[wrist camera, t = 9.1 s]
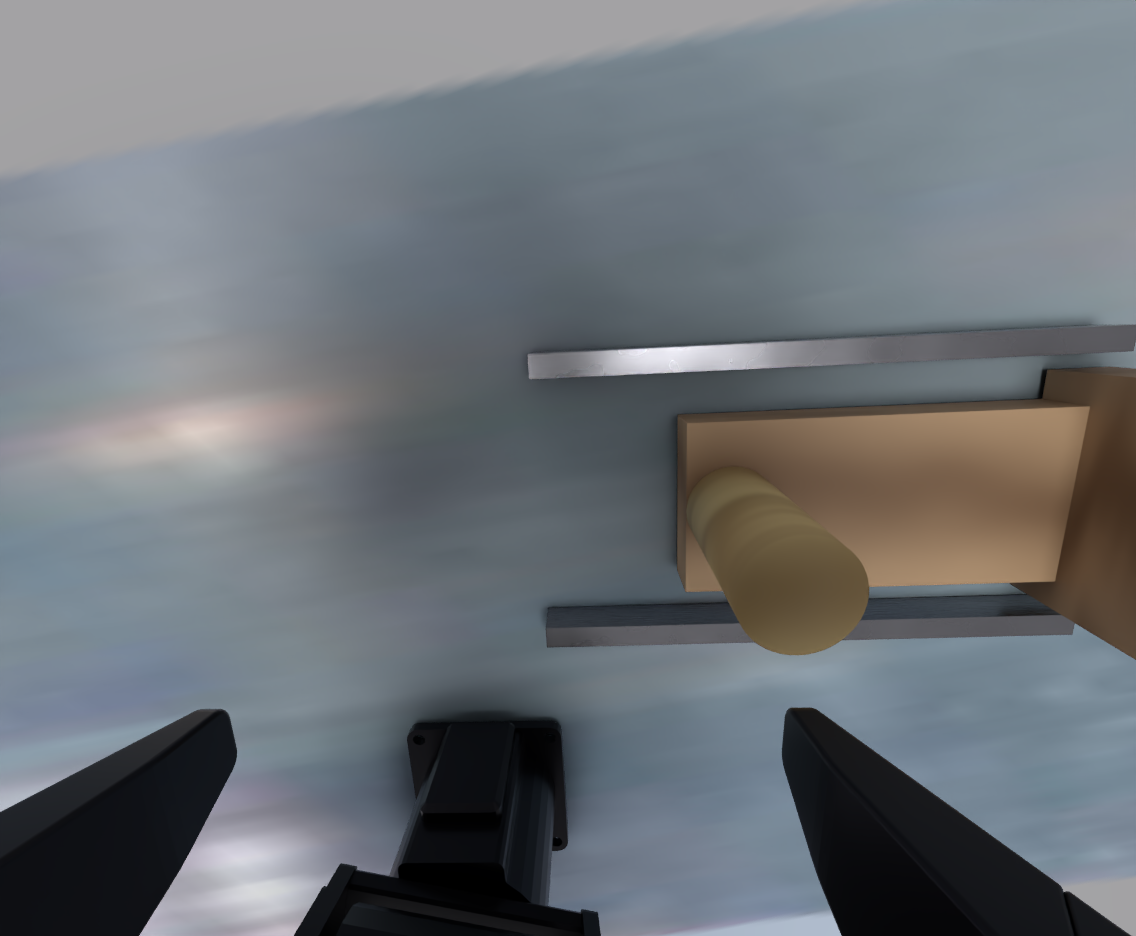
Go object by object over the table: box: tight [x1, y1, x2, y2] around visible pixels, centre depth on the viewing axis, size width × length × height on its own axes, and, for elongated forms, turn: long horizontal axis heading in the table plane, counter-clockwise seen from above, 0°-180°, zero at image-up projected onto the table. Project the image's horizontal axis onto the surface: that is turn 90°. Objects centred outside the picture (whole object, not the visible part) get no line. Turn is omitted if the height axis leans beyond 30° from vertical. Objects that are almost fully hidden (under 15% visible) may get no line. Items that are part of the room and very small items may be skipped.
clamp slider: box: [677, 367, 1136, 660], centre depth 16 cm, size 8×14×8 cm, turn 93°
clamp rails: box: [527, 325, 1136, 647], centre depth 19 cm, size 11×19×2 cm, turn 93°
